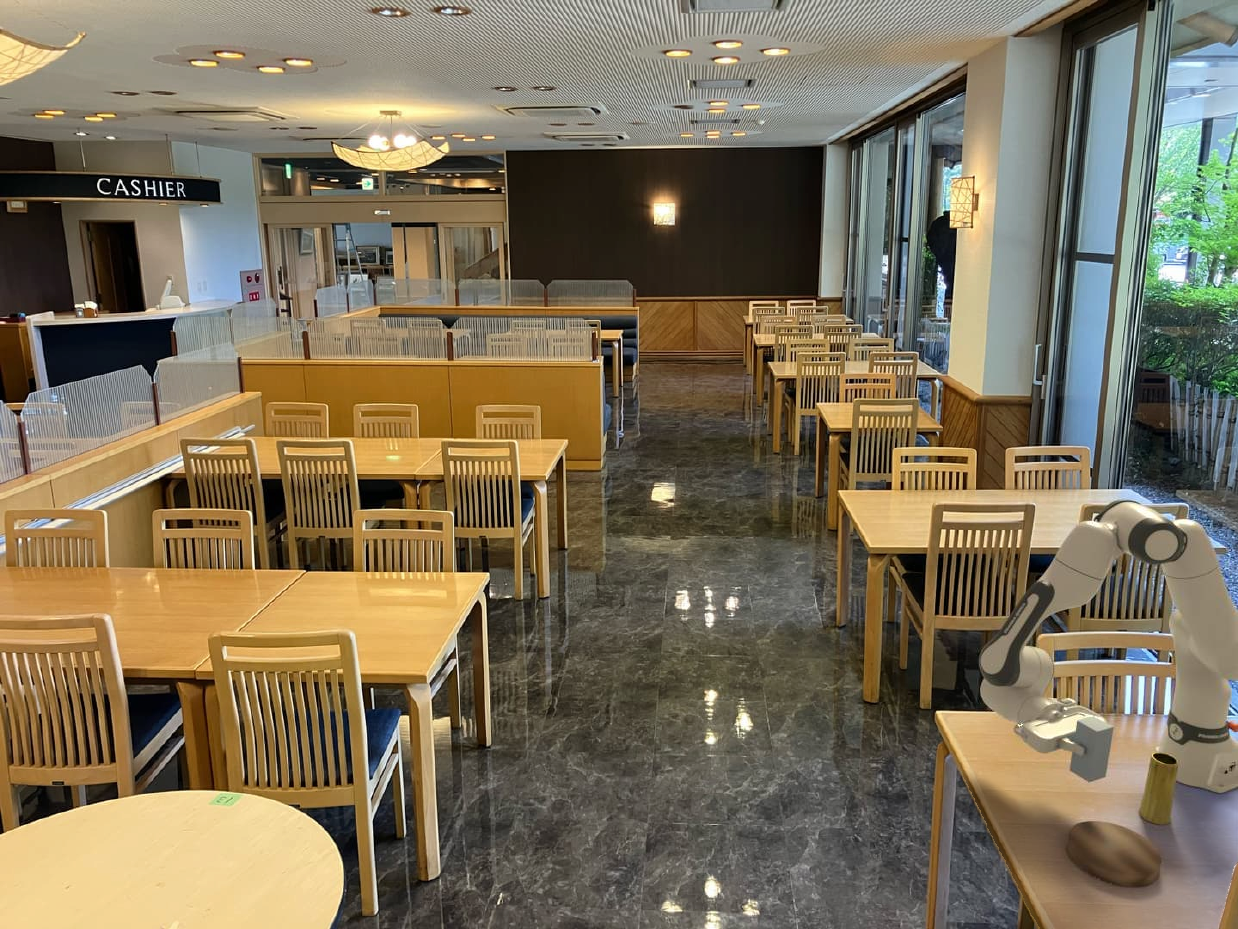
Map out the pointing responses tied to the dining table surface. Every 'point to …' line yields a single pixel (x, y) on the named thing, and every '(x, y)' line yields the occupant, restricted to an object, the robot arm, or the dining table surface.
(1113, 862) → the walnut base
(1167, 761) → the vase
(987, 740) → the dining table surface
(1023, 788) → the dining table surface
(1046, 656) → the robot arm
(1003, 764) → the dining table surface
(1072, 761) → the gray block
